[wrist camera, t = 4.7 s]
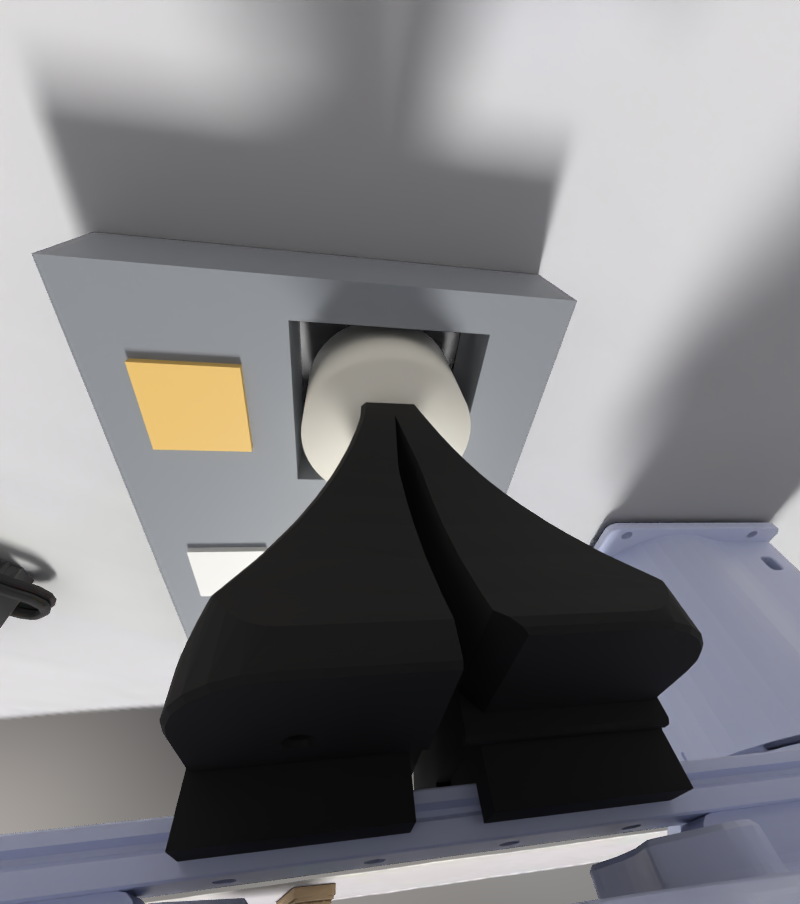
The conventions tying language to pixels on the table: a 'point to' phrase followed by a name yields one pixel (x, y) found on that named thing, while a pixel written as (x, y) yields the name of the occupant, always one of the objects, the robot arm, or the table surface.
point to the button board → (268, 376)
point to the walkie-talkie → (22, 595)
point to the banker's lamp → (310, 895)
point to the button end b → (377, 389)
